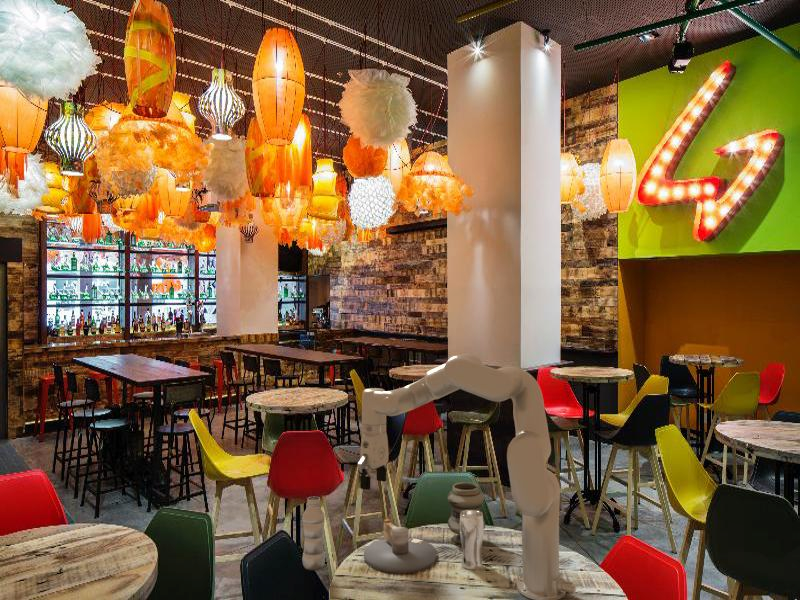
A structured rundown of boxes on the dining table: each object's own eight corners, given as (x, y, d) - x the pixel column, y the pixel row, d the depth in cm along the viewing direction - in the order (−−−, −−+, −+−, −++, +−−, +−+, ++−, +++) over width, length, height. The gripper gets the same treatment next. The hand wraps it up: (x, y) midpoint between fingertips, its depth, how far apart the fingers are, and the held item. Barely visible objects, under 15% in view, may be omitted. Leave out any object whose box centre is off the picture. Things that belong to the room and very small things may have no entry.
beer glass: (483, 571, 160) (482, 518, 161) (458, 569, 161) (458, 516, 162) (484, 561, 167) (484, 510, 167) (461, 559, 168) (460, 508, 169)
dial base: (449, 551, 174) (449, 546, 174) (412, 579, 155) (412, 573, 155) (390, 537, 186) (390, 532, 186) (349, 561, 167) (349, 555, 167)
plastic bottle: (313, 575, 158) (313, 503, 159) (297, 569, 162) (297, 499, 163) (330, 567, 163) (329, 497, 164) (313, 561, 167) (313, 493, 168)
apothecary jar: (440, 543, 180) (440, 486, 181) (459, 531, 190) (459, 478, 191) (474, 552, 173) (473, 493, 174) (491, 539, 183) (491, 484, 184)
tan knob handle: (411, 552, 169) (411, 530, 170) (396, 555, 167) (396, 533, 167) (392, 537, 180) (392, 517, 181) (378, 540, 178) (378, 520, 178)
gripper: (370, 435, 164) (369, 494, 164) (397, 425, 179) (397, 479, 179) (348, 432, 168) (347, 490, 167) (377, 423, 183) (377, 476, 182)
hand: (373, 484), depth 173 cm, fingers open, 9 cm apart
